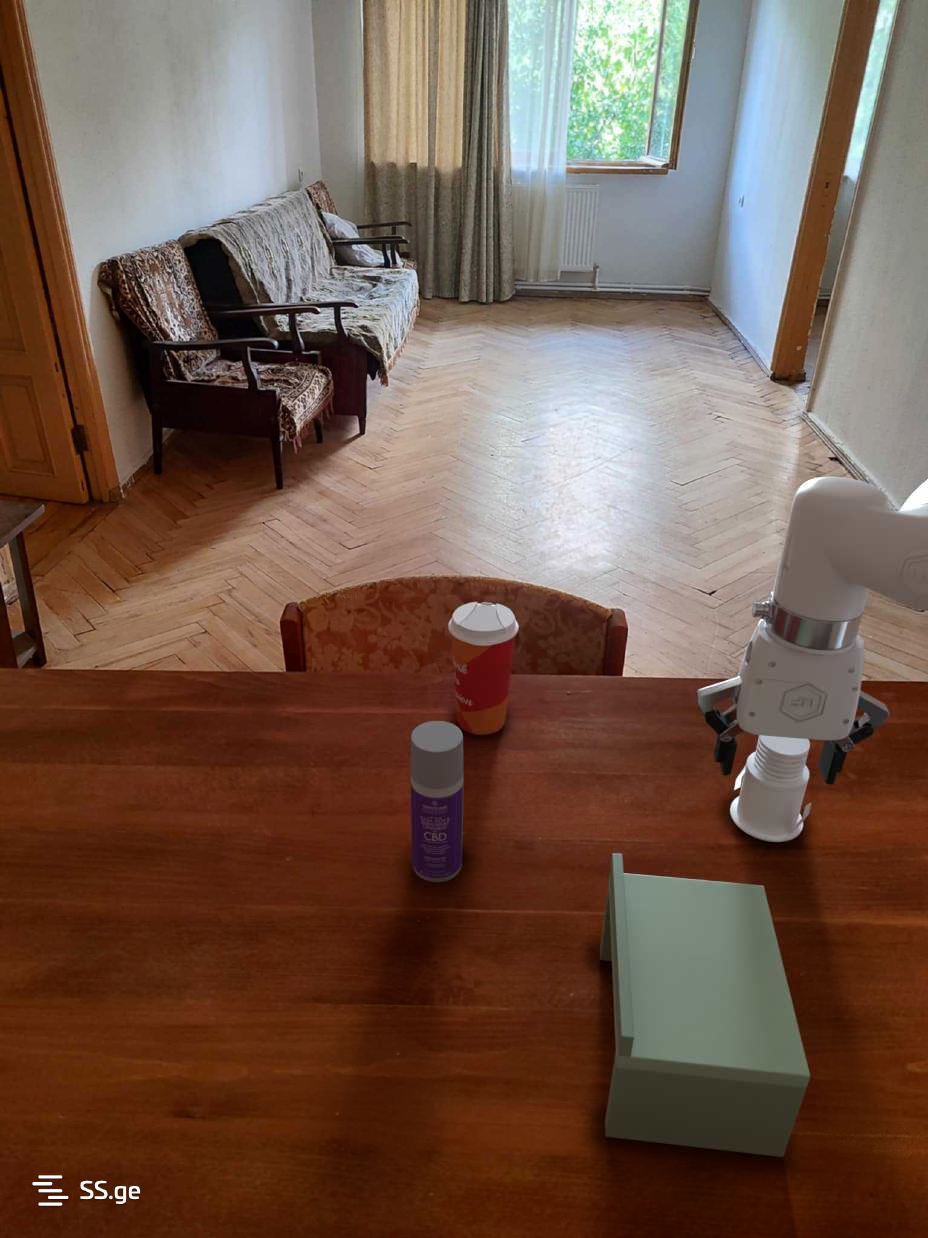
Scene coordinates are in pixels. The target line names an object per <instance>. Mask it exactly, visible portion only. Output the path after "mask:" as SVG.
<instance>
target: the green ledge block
mask: <svg viewBox="0 0 928 1238" xmlns="http://www.w3.org/2000/svg"><path fill="white" fill-rule="evenodd" d="M623 859H624V857H623V854H622V853H612V854H611V860H610V868H609V876H608V882H607V883H608V884H607V891H606V899H605V906H604V914H603V920H602V921H603V923H602V930H601V937H600V944H599V945H600V946H599V959H600V961H606V962H611V971H612V993H613V995H612V997H613V1016H614V1040H615V1041H614V1042H615V1054H614V1060H613V1067H612V1072H611V1073H612V1074H611V1079H610V1080H611V1081H610V1087H609V1093H608V1100H607V1105H606V1111H605V1117H604V1118H605V1119H604V1126H605V1127H604V1128H605V1129H604V1130H605V1133H604V1134H605V1137H606V1138H613V1139H622V1140H630V1141H632V1140H633V1141H641V1142H648V1143H649V1142H650V1143H657V1144H659V1143H660V1144H666V1145H674V1146H675V1145H676V1146H682V1147H691V1148H692V1147H693V1148H701V1149H708V1150H709V1149H710V1150H717V1151H726V1152H736V1153H745V1154H753V1155H761V1156H771V1157H778V1158H779V1157H780V1158H783V1157H784V1156H785V1153H786V1150H787V1147H788V1144H789V1141H790V1139H791V1135H792V1132H793V1129H794V1126H795V1124H796V1121H797V1118H798V1114H799V1113H800V1109H801V1106H802V1102H803V1100H804V1097H805V1094H806V1091H807V1087H808V1084H809V1082H810V1079H811V1074H810V1070H809V1065H808V1060H807V1058H806V1053H805V1048H804V1044H803V1041H802V1036H801V1033H800V1029H799V1024H798V1021H797V1016H796V1012H795V1008H794V1003H793V1000H792V996H791V991H790V988H789V983H788V980H787V975H786V972H785V967H784V963H783V959H782V955H781V951H780V946H779V943H778V938H777V935H776V931H775V927H774V922H773V918H772V913H771V910H770V906H769V902H768V898H767V894H766V890H765V886H764V885H760V884H751V883H750V884H748V883H739V882H738V883H737V882H727V881H714V880H705V879H693V878H682V877H681V878H680V877H671V876H659V875H649V874H636V873H625V871H624V860H623Z"/></svg>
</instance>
